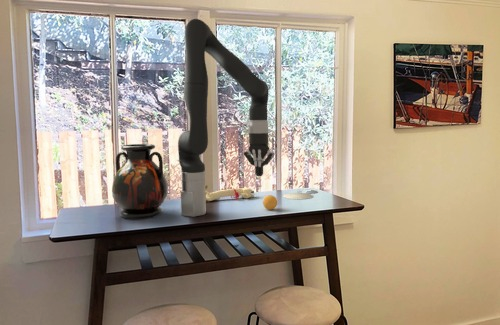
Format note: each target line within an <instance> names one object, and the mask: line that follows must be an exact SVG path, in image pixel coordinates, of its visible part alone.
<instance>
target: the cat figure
mask: <svg viewBox="0 0 500 325" xmlns="http://www.w3.org/2000/svg"><path fill="white" fill-rule="evenodd" d="M207 189H208V185H207V184H205V194H206V201H208V202H211V201H214V200H219V199H220V198H225V197H226V198H227V197H230V198H231V199H233V197H234V199H235V200H234V201H237V200H238V198H240V197H241V198H244V199H249V198H253V197H255V195H256V194H255V191H254V190H252V189H251V188H249V187H241V188H237V187H236V188H233V187H229V188H227V189H222V190H216V191H213V192H209V191H208V190H207Z"/></svg>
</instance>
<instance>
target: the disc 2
mask: <svg viewBox="0 0 500 325" xmlns="http://www.w3.org/2000/svg"><path fill="white" fill-rule="evenodd" d="M300 190H301V189H298V190H297V191H296V193H302V191H300ZM310 190H311V191H307V192H306V193H305V194H310V195H313V194H312V193H314V194H317V193H318V191H317V190H314V189H310Z"/></svg>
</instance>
